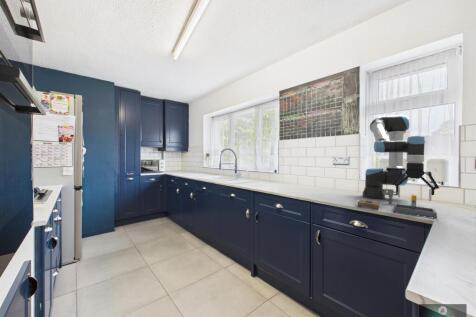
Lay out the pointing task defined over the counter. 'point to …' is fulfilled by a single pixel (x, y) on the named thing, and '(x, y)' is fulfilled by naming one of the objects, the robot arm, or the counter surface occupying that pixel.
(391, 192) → the mechanical component
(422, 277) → the counter surface
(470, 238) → the counter surface
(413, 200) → the tall wooden block
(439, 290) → the counter surface
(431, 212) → the parts tray
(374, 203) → the block
